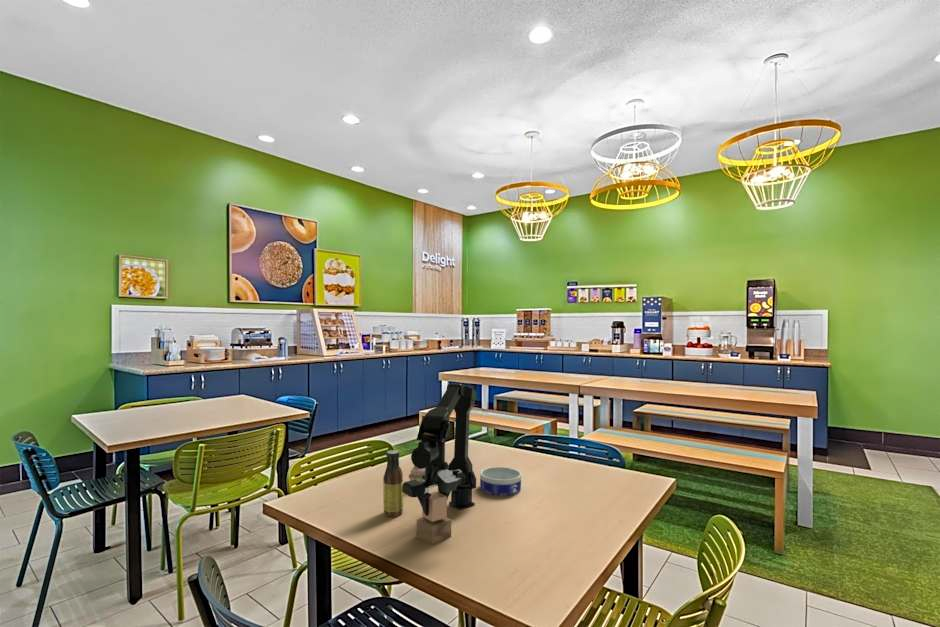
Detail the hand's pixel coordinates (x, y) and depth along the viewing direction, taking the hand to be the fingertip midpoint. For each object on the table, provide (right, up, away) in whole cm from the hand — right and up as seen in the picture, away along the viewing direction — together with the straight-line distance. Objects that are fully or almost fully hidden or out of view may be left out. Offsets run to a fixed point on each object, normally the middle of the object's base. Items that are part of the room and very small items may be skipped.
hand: (434, 512), depth 132 cm
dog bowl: (+22, -8, +39) cm, 45 cm away
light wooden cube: (0, -1, 0) cm, 1 cm away
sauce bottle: (-14, -7, +15) cm, 22 cm away
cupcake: (-8, -8, +39) cm, 40 cm away
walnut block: (0, -7, 0) cm, 7 cm away
